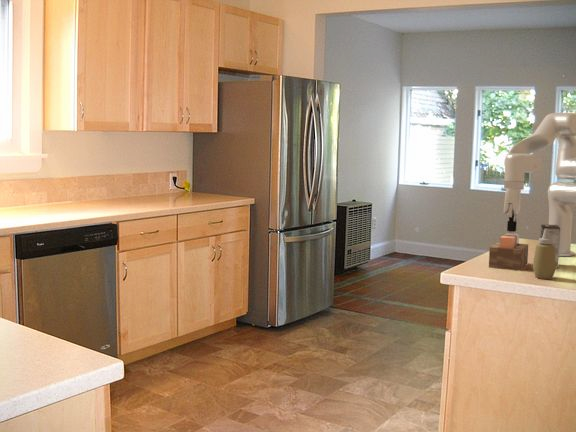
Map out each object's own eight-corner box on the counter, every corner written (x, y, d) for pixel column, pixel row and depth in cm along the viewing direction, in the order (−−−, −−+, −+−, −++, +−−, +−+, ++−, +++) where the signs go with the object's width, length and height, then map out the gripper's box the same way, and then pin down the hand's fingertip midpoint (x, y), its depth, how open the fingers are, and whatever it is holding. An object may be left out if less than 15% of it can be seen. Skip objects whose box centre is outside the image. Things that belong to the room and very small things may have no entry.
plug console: (497, 261, 297) (497, 241, 296) (527, 263, 291) (528, 244, 290) (488, 267, 283) (489, 247, 282) (520, 270, 277) (521, 249, 276)
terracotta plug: (501, 250, 286) (502, 235, 285) (514, 251, 284) (515, 236, 283) (499, 252, 282) (500, 237, 281) (512, 253, 279) (513, 238, 279)
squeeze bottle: (529, 275, 267) (531, 227, 265) (551, 275, 267) (553, 227, 265) (535, 279, 259) (538, 230, 257) (558, 280, 259) (561, 230, 257)
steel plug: (505, 247, 293) (506, 233, 292) (518, 249, 291) (519, 234, 290) (503, 249, 289) (504, 234, 288) (516, 250, 286) (516, 235, 286)
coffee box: (538, 263, 293) (540, 224, 291) (555, 263, 292) (557, 224, 290) (541, 267, 284) (543, 226, 283) (558, 268, 283) (561, 227, 281)
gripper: (507, 184, 295) (505, 228, 297) (500, 186, 282) (498, 232, 284) (526, 184, 292) (524, 229, 294) (520, 187, 278) (517, 234, 281)
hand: (511, 231), depth 289 cm, fingers closed
